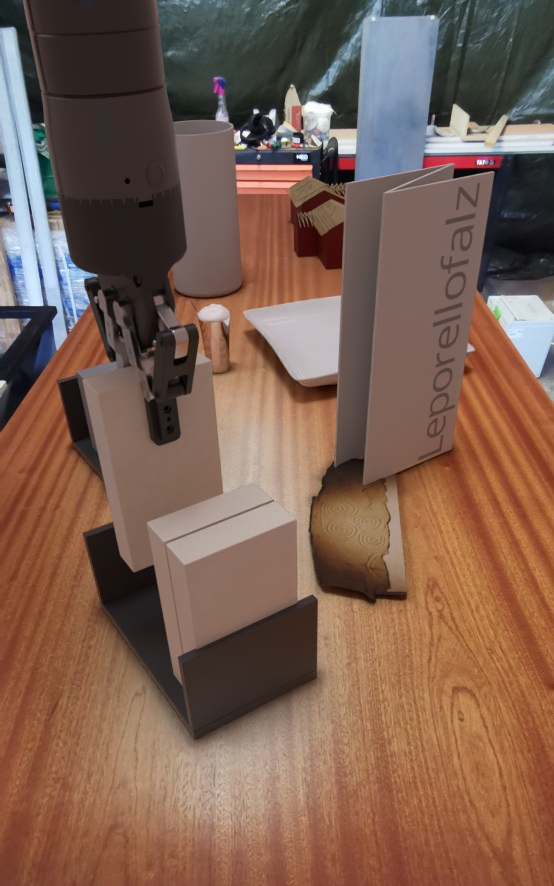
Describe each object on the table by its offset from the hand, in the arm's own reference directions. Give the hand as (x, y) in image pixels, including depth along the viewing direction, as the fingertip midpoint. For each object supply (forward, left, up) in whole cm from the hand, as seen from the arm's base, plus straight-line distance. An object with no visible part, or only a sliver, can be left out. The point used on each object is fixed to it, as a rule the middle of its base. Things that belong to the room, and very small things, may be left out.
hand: (156, 430), depth 56 cm
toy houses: (+78, +79, -20) cm, 113 cm away
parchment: (+22, +2, -20) cm, 30 cm away
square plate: (+49, +38, -20) cm, 65 cm away
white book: (0, 0, -11) cm, 11 cm away
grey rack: (+9, +29, -20) cm, 37 cm away
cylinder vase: (+45, +76, -20) cm, 91 cm away
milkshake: (+29, +45, -20) cm, 57 cm away
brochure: (+34, +10, -20) cm, 41 cm away
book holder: (0, -4, -20) cm, 20 cm away
